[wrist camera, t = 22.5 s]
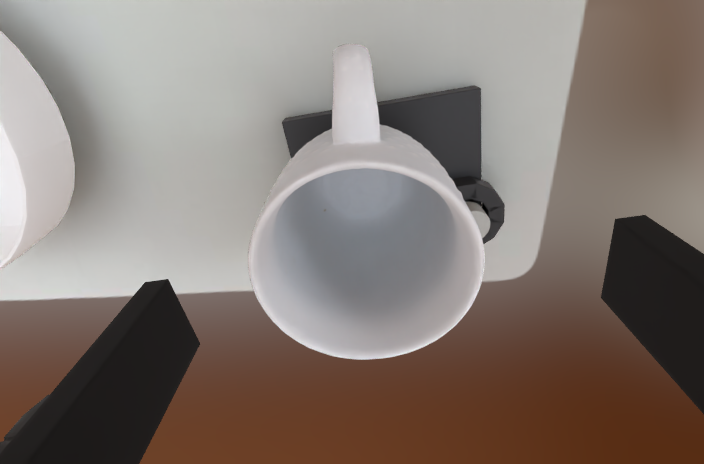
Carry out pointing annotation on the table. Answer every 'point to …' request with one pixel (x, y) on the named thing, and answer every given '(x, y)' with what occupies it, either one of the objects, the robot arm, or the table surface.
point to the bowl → (30, 157)
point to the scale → (428, 139)
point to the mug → (364, 234)
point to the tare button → (479, 217)
